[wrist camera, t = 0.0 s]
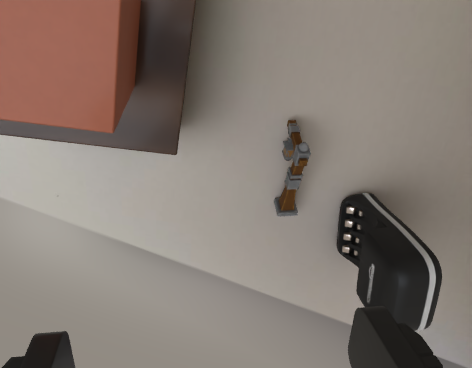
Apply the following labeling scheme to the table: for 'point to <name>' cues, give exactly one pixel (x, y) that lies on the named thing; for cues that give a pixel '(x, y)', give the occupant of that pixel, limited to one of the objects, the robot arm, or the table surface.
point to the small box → (68, 61)
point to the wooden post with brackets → (292, 170)
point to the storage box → (141, 87)
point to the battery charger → (389, 261)
